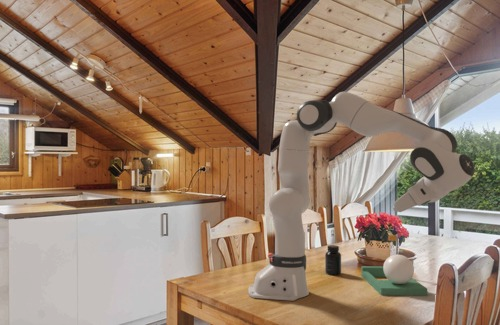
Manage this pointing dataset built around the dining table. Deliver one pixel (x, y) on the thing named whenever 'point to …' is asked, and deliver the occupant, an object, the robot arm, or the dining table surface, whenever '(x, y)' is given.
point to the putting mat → (387, 286)
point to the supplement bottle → (333, 260)
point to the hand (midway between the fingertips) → (403, 205)
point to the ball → (398, 269)
